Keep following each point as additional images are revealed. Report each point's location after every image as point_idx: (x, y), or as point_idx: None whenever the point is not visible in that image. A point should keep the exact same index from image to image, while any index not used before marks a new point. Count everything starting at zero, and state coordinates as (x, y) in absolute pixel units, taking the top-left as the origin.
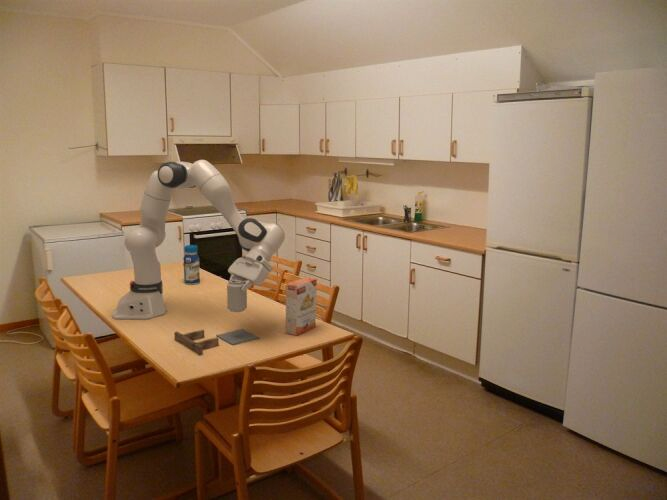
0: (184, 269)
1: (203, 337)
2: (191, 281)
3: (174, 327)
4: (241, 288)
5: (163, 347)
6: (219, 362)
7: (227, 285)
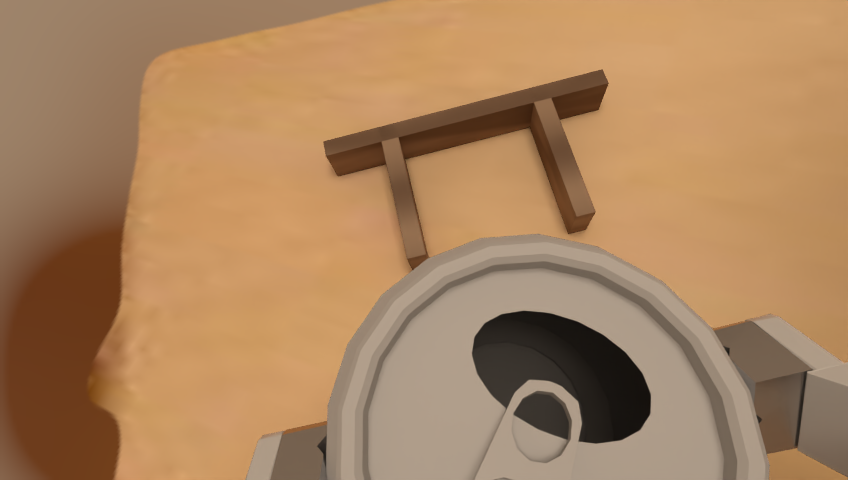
0: None
1: (566, 227)
2: None
3: (805, 121)
4: (277, 436)
5: (503, 44)
6: (211, 220)
7: (520, 235)
